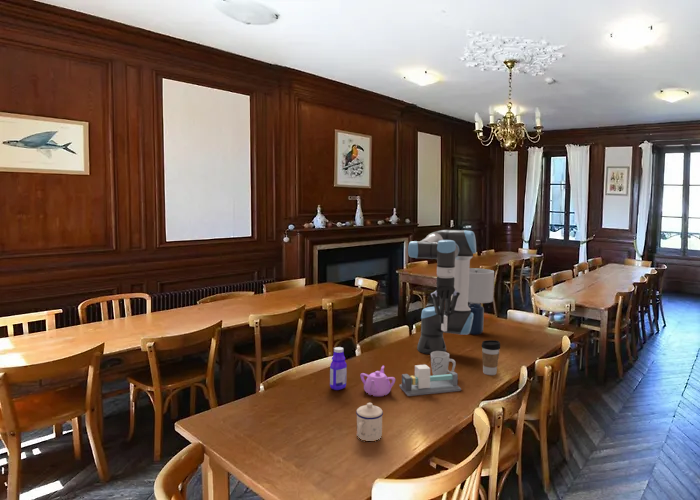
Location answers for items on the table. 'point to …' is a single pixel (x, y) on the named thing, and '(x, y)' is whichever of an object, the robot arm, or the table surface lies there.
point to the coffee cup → (490, 356)
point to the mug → (441, 363)
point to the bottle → (338, 369)
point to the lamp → (479, 295)
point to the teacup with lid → (369, 422)
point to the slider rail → (435, 386)
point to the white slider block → (422, 376)
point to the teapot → (377, 383)
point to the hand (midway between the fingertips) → (444, 330)
